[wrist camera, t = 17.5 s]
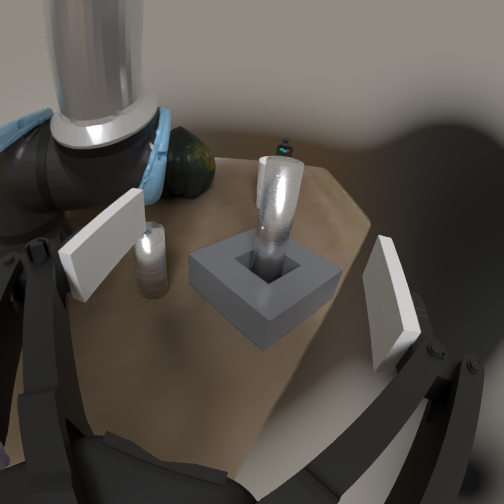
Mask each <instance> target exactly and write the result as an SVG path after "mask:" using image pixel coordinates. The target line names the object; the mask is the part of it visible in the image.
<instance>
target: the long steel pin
mask: <svg viewBox="0 0 504 504" xmlns="http://www.w3.org/2000/svg"><path fill="white" fill-rule="evenodd" d="M303 170H304V163H303V162H301V161H299V160H297V159H294V158H290V157H285V156H269V157H267V158H266V164H265V172H264V179H263V186H262V193H261V200H260V207H259V215H258V222H257V229H256V236H255V243H254V250H253V257H252V265H251V272H253V273H254V274H255V275H257V276H258V277H259V278H261V279H262V280H263V281H265V282H266V283H268V284H270V283H272V282H273V281H275V280H277V279H279V278H280V277H281V276H282V272H283V267H284V263H285V258H286V253H287V249H288V244H289V239H290V235H291V230H292V225H293V220H294V215H295V210H296V205H297V200H298V195H299V190H300V185H301V180H302V175H303Z"/></svg>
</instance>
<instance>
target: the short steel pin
mask: <svg viewBox="0 0 504 504" xmlns="http://www.w3.org/2000/svg"><path fill="white" fill-rule="evenodd" d="M145 223H146V231H145V233H144V234H143V235H142V236H141V237H140V238H139V239H138V240H137V241H136V243H135V244H134V245H133V246H132V247H133V254H134V261H135V268H136V275H137V281H138V287H139V292H140V294H141V295H142V296H143V297H145V298H149V299H156V298H160V297H162V296H164V295H165V294H166V293H167V291H168V278H167V265H166V251H165V234H164V227H163V225H162V224H160V223H157V222H151V221H148V222H145Z"/></svg>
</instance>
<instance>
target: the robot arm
mask: <svg viewBox="0 0 504 504" xmlns="http://www.w3.org/2000/svg"><path fill="white" fill-rule="evenodd" d="M41 1H42V13H43V22H44V30H45V38H46V45H47V50H48V57H49V62H50V67H51V72H52V77H53V82H54V87H55V91H56V95H57V100H58V104H59V106H58V108H57V109H56V111H55V113H53V111H52V109H51V108H47V109H42V110H39V111H36V112H33V113H31V114H28V115H25V116H23V117H21V118H18V119H16V120H14V121H11V122H9V123H7V124H5V125H2V126H0V504H337V503H338V502H339V500H340V497H341V496H342V494H344V492H346V491H347V490H348V489H349V488H350V487H351V486H352V485H353V484H354V483H355V482H356V481H357V480H358V478H359V477H360V476H361V475H362V474H363V473H364V472H365V471H366V470H367V469H368V468H369V467H370V466H371V465H372V463H373V462H374V461H375V460H376V459H377V458H378V457H379V455H380V454H381V453H382V452H383V450H385V448H386V447H387V446H388V445H389V444H390V442H391V441H392V440H393V439H394V437H395V436H396V434H398V432H399V431H400V430H401V428H402V427H403V426H404V424H405V423H406V422H407V420H408V419H409V418H410V416H411V415H412V413H413V412H414V411H415V409H416V408H417V406H418V405H419V403H420V402H421V400H422V399H423V397H424V398H426V399H428V402H427V405H426V408H425V411H424V414H423V417H422V420H421V423H420V425H419V428H418V431H417V434H416V436H415V439H414V441H413V444H412V446H411V449H410V451H409V453H408V456H407V458H406V460H405V463H404V465H403V467H402V469H401V471H400V473H399V476H398V478H397V480H396V482H395V484H394V486H393V488H392V490H391V492H390V494H389V496H388V497H387V499H386V501H385V503H384V504H455V501H456V498H457V496H458V493H459V490H460V487H461V484H462V481H463V478H464V475H465V471H466V468H467V465H468V461H469V457H470V454H471V450H472V445H473V441H474V436H475V432H476V427H477V422H478V416H479V411H480V405H481V398H482V390H483V382H484V367H483V365H482V363H481V362H480V360H479V359H478V358H476V357H475V356H473V355H466V356H465V357H463V358H462V360H461V361H459V360H457V359H455V358H452V357H450V356H448V355H447V350H446V349H445V347H444V345H443V344H442V343H441V342H439V341H438V340H436V339H435V338H434V334H433V331H432V327H431V324H430V320H429V317H428V314H427V311H426V308H425V304H424V301H423V300H422V299H421V297H420V296H419V295H418V293H416V292H411V291H409V288H408V285H407V283H406V279H405V276H404V273H403V270H402V267H401V264H400V261H399V258H398V256H397V253H396V250H395V247H394V244H393V242H392V239H391V238H388V237H384V236H380V235H379V236H378V238H377V240H376V243H375V245H374V248H373V251H372V253H371V256H370V258H369V261H368V263H367V266H366V268H365V271H364V273H363V282H364V288H365V295H366V302H367V308H368V317H369V325H370V333H371V343H372V353H373V364H374V372H376V373H385V374H390V373H391V372H392V370H393V369H394V368H395V367H396V368H397V375H396V376H395V377H394V378H393V380H392V381H391V382H390V383H389V384H388V385H387V387H386V388H385V389H384V390H383V391H382V393H381V394H380V395H379V396H378V397H377V398H376V399H375V400H374V401H373V403H372V404H371V405H370V406H369V407H368V408H367V409H366V410H365V411H364V412H363V413H362V414H361V415H360V416H359V418H357V419H356V420H355V421H354V423H352V424H351V425H350V426H349V427H348V428H347V429H346V430H345V431H344V432H343V433H342V434H341V435H340V436H339V437H338V438H337V439H336V440H335V441H334V442H333V443H332V444H330V445H329V446H328V447H327V448H326V449H325V450H324V451H323V452H322V453H320V454H319V455H318V456H317V457H316V458H315V459H313V460H312V461H311V462H310V463H309V464H307V465H306V466H305V467H304V468H303V469H301V470H300V471H299V472H298V473H296V474H295V475H294V476H293V477H291V478H290V479H289V480H287V481H286V482H285V483H283V484H282V485H281V486H279V487H278V488H277V489H275V490H274V491H272V492H271V493H270V494H268V495H267V496H265V497H264V498H262V499H261V500H260V501H258V502H257V501H256V499H255V498H254V497H253V495H252V494H251V493H250V492H249V491H248V490H247V489H246V488H244V487H243V486H242V485H240V484H239V483H237V482H236V481H234V480H232V479H230V478H228V477H227V473H228V472H225V471H221V470H216V469H212V468H209V467H205V466H201V465H197V464H187V463H175V462H164V461H160V460H158V459H157V458H155V457H154V456H152V455H151V454H149V453H148V452H146V451H145V450H143V449H142V448H140V447H139V446H138V445H136V444H135V443H133V442H131V441H128V440H126V439H124V438H121V437H119V436H117V435H115V434H112V433H110V432H108V431H106V433H105V436H97V435H95V436H94V435H93V432H92V430H91V428H90V426H89V424H88V422H87V419H86V416H85V412H84V408H83V403H82V399H81V394H80V389H79V384H78V379H77V373H76V367H75V361H74V354H73V347H72V339H71V331H70V321H69V309H68V299H67V296H66V293H67V292H68V291H70V290H71V293H72V296H73V298H74V299H76V300H79V301H81V302H84V303H85V302H86V301H87V300H88V299H89V297H90V296H91V295H92V294H93V292H94V291H95V290H96V289H97V287H98V286H99V285H100V284H101V282H102V281H103V280H104V279H105V278H106V276H107V275H108V274H109V273H110V272H111V270H112V269H113V268H114V267H115V266H116V264H117V263H118V262H119V261H120V260H121V259H122V257H123V256H124V255H125V254H126V253H127V252H128V251H129V249H130V248H131V247H132V246H133V245H134V244H135V243H136V241H137V240H138V239H139V238H140V237H141V236H142V235H143V234H144V233H145V231H146V223H145V209H144V205H151V204H154V203H155V202H157V201H158V199H159V198H160V196H161V194H162V190H163V185H164V178H165V171H166V162H167V157H166V156H167V152H168V146H169V138H170V127H171V112H170V110H169V109H166V108H165V109H164V108H163V107H158V101H157V97H156V94H155V93H154V91H153V90H152V89H151V88H150V87H148V86H147V85H145V84H143V83H142V30H143V7H144V0H41ZM87 209H105V210H104V211H103V212H102V213H100V214H99V215H98V216H97V217H96V218H95V219H93V220H92V221H91V222H90V223H89V224H88V225H87V224H86V225H84V226H82V227H80V228H78V229H76V230H75V231H74V230H73V228H72V227H71V225H70V223H69V222H68V220H67V218H66V216H65V212H64V211H68V210H87ZM22 345H23V382H24V393H23V394H19V396H18V401H17V404H18V415H19V424H20V431H21V438H22V444H23V450H24V456H25V461H24V462H21V463H19V464H16V465H14V466H11V467H8V468H6V469H5V467H7V466H8V465H9V463H10V458H9V456H8V455H7V454H6V453H5V449H4V446H5V442H6V437H7V433H8V426H9V418H10V410H11V402H12V395H13V389H14V383H15V378H16V372H17V367H18V363H19V358H20V354H21V349H22ZM226 477H227V478H226Z"/></svg>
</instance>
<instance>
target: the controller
mask: <svg viewBox="0 0 504 504" xmlns="http://www.w3.org/2000/svg"><path fill="white" fill-rule="evenodd" d="M282 141H283V142H284V143H283V144H281V145H278V147H277V152H276V156H285V157H290V158H292V152H293V148H292V147H291V146H290V145H289V144H288V142H290V140H287V139H283V140H282Z"/></svg>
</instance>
